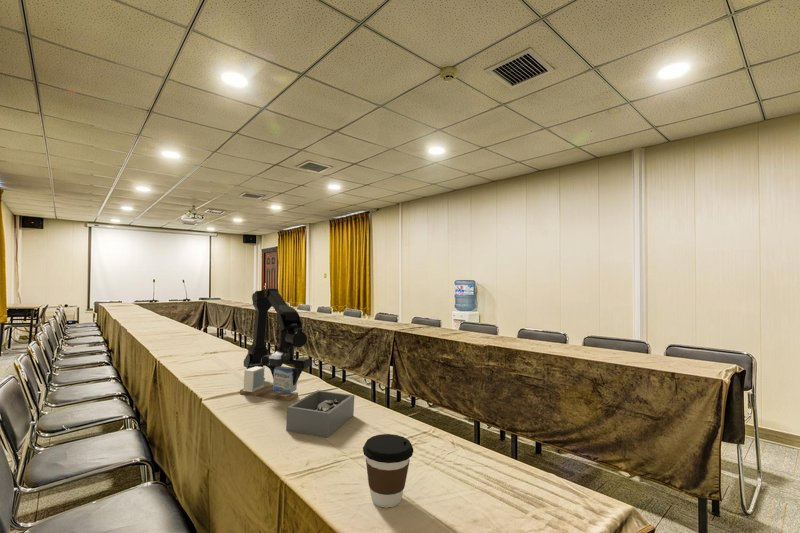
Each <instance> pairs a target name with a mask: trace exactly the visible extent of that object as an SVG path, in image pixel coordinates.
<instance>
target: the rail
mask: <svg viewBox="0 0 800 533" xmlns="http://www.w3.org/2000/svg"><path fill="white" fill-rule="evenodd" d="M243 390H244V387H243V388H242V389H239V394H240V395H247V396H252V397H260V398H266V399H272V400H281V401H285V402H286V401H287V402H290V401H292V400H294V399H296V398H297V397H299V393H298V392H297V391H293V392H291V393H287V392H280V391H273V388H269V387H263V388H261V389H258V390H256V391H254V392H248V391H243Z"/></svg>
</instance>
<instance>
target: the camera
mask: <svg viewBox="0 0 800 533" xmlns="http://www.w3.org/2000/svg"><path fill="white" fill-rule="evenodd" d="M341 402H342V400H341V399H338V400H336V399H335V400H334V401H331V400H325V401H323V402H322V403H320V404H319V405H318V407H317V408H315V409H313V410H318V411H324V412H328V411H329V410H331V409H332V408H334V407H335V406H336V405H338V404H339V403H341Z"/></svg>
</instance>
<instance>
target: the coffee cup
mask: <svg viewBox="0 0 800 533" xmlns="http://www.w3.org/2000/svg"><path fill="white" fill-rule="evenodd" d="M362 452H363V455H364V457H366V458H365V463H366V465H365V466H366V471H367V472H366V473H367V481H368V482H367V483H368V486H369V493H370V498H371V502H372V503H373V504H374V505H375V504H376V505H377V506H376V505H375V506H376V507H379V506H380V507H379V508H381V507H385V508H384V509H389V508H388V507H392V508H394V507H393V506H395V507H397V506H398V505H399V504H400V502H401V501H402V498H403V493H404V489H405V486H406V483H407V482H406V481H407V477H408V476H407V475H408V471H409V466H410V462H411V461H410V458H411V457H412V456H413V455H414V447H413V446H412V442H411V441H410V440H409V439H408V438H406V437H404V436H401V435H398V434H393V433H392V434H391V433H384V434H383V433H381V434H377V435H373V436H371V437H370V438H368V439H366V442H365V444H364V445H363V447H362ZM398 503H399V504H398ZM397 504H398V505H397ZM396 505H397V506H396Z"/></svg>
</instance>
